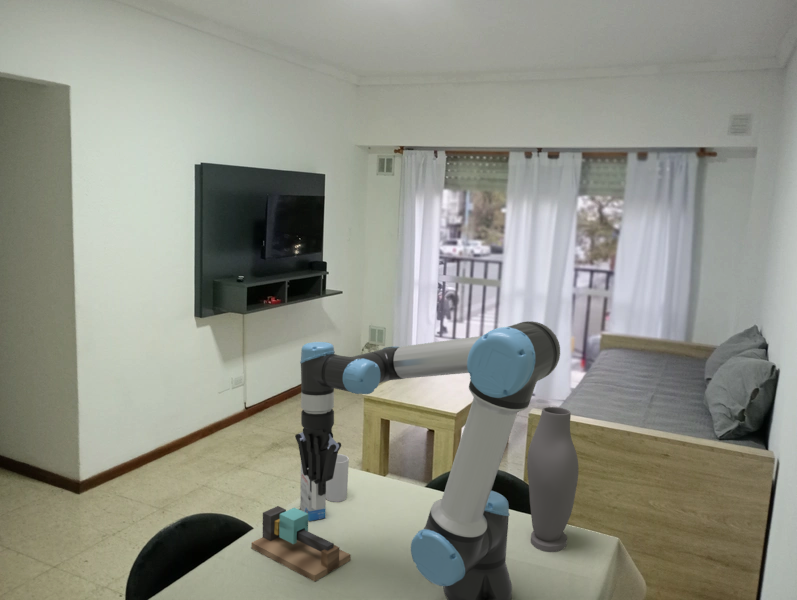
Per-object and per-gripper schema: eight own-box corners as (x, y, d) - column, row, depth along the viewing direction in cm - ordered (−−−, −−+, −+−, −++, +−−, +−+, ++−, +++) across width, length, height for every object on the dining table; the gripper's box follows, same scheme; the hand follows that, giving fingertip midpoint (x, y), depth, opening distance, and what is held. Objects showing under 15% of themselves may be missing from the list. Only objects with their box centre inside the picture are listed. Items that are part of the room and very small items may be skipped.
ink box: (326, 518, 175) (327, 467, 173) (308, 522, 173) (309, 469, 171) (316, 505, 183) (317, 455, 181) (299, 508, 181) (300, 458, 179)
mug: (346, 503, 185) (347, 463, 183) (322, 501, 185) (323, 462, 183) (350, 488, 195) (351, 450, 193) (328, 487, 195) (329, 449, 193)
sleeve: (307, 536, 158) (308, 513, 157) (293, 544, 154) (293, 520, 153) (293, 530, 161) (294, 507, 160) (279, 537, 157) (279, 514, 156)
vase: (571, 558, 159) (581, 421, 155) (518, 548, 163) (527, 414, 159) (574, 535, 171) (584, 407, 167) (525, 526, 175) (533, 401, 171)
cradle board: (350, 560, 155) (351, 529, 154) (314, 581, 145) (315, 548, 144) (287, 529, 168) (287, 501, 167) (250, 547, 159) (250, 517, 158)
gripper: (349, 411, 147) (349, 509, 150) (309, 400, 155) (309, 494, 158) (326, 418, 142) (326, 520, 144) (286, 407, 149) (287, 504, 152)
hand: (318, 506), depth 151 cm, fingers closed
